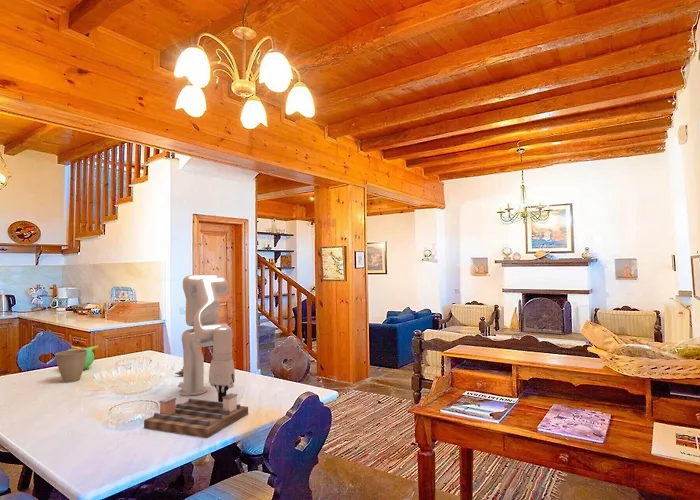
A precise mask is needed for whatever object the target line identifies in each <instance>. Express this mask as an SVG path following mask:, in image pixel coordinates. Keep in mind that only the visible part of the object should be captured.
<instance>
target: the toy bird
mask: <svg viewBox="0 0 700 500" xmlns="http://www.w3.org/2000/svg"><path fill="white" fill-rule="evenodd" d="M97 348H99V345H93V346H89V347H84V346H82V347H81V346H72V348H70V349H67V350H66V351H69V350H87V356H86V361H85V365H84V369H83V370H85V369H87V368H89V367H90V366H91V365H92V364H93V363H94V361H95V354H94V352H93V351H94V350H95V349H97Z"/></svg>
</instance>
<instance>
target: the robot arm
mask: <svg viewBox="0 0 700 500" xmlns="http://www.w3.org/2000/svg"><path fill="white" fill-rule="evenodd" d="M182 289H183V292H184V296H185V323H186V325H187V326H188V327H193V328H190V329H186V330H184V331H183V332H182V334H181V342H182V344H181V345H182V352H183V363H182V364H183V366H182V369H183V375H182V376H183V377H182V379H183V382H180V383H179V384H178V385H177V388H180V390H179V395H182V396H183V397H185V396H186V397H192V396H193V397H194V396H200V395H203V394H205V393H206V392H207V390H208V389H207V387H205V386H204V384H205V383H204V381H205V379H204V378H205V377H204V374H205V373H204V371H205V369H204V367H205V365H204V363H205V361H204V360H205V359H204V354H203V352H202V351H201V350H200V349H199V348H202V347H203V348H205V347H211V346H212V353H211V354H210V355H211V356H212V359H211V361H210V365H209V371H208V384H210V386H211V387H214V388H215V390H216V393H217V402H223V399H222V397H223V396H225V395H227V391H228V390H229V389H233V388H234V387H235V384H234V383H235V381H236V379H235V378H236V373H235V364H234V359H233V328H232V327H231V326H229V325H228V324H227V323H219V322H220V315H219V311H218V310H219V309H220V306H221V303H220V298H219V296H220V295H221V296H222V295H226V294H227V293H228V291H229V283H228V280H227V279H226V278H225V277H224V276H222V275H220V274H190V275H189V274H188V275H186V276H184V278H183V280H182Z"/></svg>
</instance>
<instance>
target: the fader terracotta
mask: <svg viewBox="0 0 700 500" xmlns="http://www.w3.org/2000/svg"><path fill="white" fill-rule="evenodd" d="M176 400H177V397H174V396H169V397H166V398H163V399H161V400H159V401H158V402H159V413H160V414H167V415H172V414H174V413H175V407H176Z"/></svg>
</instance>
